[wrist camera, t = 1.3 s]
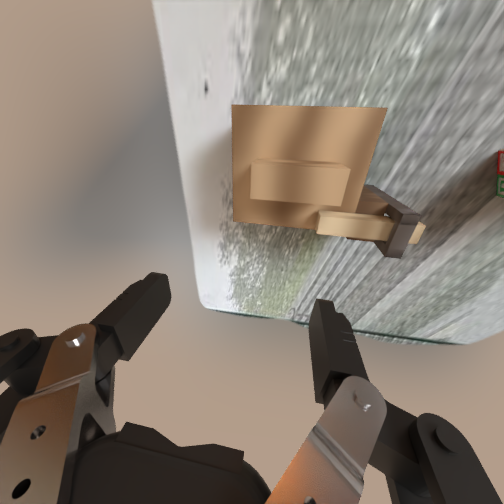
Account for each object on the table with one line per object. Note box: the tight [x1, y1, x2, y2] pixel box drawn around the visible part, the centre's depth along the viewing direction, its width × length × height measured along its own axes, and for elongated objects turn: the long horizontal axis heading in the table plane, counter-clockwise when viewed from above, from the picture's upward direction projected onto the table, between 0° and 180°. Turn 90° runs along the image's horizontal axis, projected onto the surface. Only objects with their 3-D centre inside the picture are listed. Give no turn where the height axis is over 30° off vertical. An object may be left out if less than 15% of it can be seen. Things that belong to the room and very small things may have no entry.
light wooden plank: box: [315, 210, 426, 244], centre depth 21 cm, size 10×2×2 cm, turn 88°
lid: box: [232, 105, 387, 230], centre depth 20 cm, size 14×12×8 cm
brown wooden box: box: [346, 185, 421, 259], centre depth 24 cm, size 18×13×13 cm
